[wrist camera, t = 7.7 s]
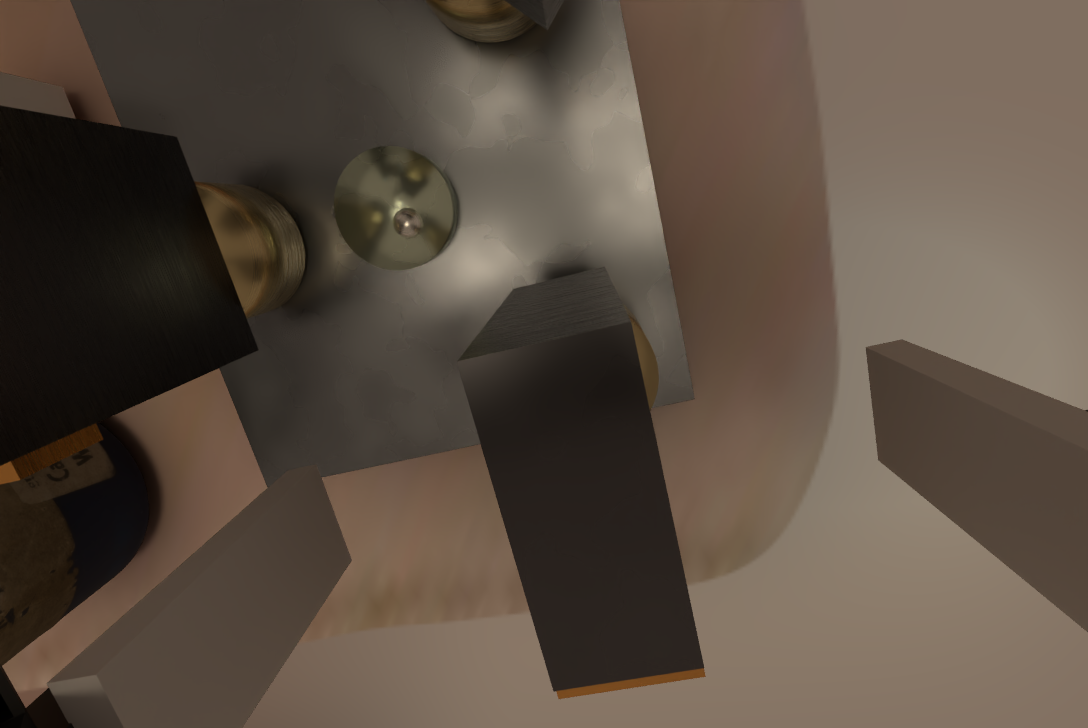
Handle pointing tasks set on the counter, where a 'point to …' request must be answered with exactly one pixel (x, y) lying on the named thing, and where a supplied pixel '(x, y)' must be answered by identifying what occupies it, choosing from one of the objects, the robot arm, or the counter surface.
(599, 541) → the brass knob with block
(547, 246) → the level plate
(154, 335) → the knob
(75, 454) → the canister
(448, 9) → the dark grey block
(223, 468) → the counter surface
